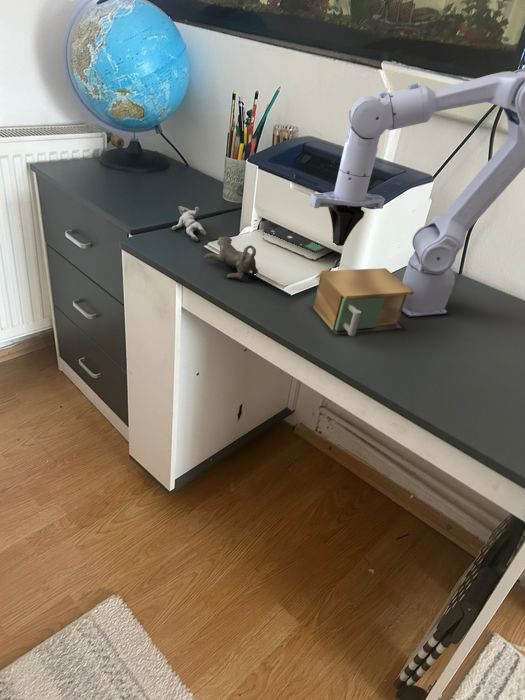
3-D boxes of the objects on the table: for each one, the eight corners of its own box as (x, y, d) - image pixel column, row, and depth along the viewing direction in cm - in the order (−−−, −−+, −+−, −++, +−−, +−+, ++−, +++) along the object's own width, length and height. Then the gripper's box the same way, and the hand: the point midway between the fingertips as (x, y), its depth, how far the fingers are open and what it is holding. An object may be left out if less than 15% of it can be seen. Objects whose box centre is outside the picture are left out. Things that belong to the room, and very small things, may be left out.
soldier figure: (180, 246, 116) (160, 211, 122) (192, 255, 121) (172, 221, 126) (208, 224, 115) (186, 190, 120) (218, 234, 119) (197, 201, 125)
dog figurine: (261, 280, 106) (267, 246, 102) (240, 286, 102) (245, 251, 98) (223, 257, 112) (226, 224, 108) (202, 262, 109) (205, 228, 105)
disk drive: (261, 240, 123) (314, 262, 117) (262, 229, 122) (316, 250, 115) (285, 231, 131) (336, 250, 124) (287, 220, 129) (339, 239, 123)
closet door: (373, 325, 96) (382, 294, 92) (385, 336, 93) (395, 306, 90) (334, 328, 93) (342, 297, 89) (345, 340, 90) (354, 309, 86)
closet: (374, 303, 105) (385, 268, 100) (401, 328, 98) (414, 291, 93) (312, 308, 99) (321, 270, 95) (336, 335, 92) (346, 296, 88)
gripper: (377, 166, 98) (359, 234, 106) (308, 163, 93) (295, 235, 100) (398, 178, 93) (378, 249, 101) (327, 176, 87) (311, 251, 95)
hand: (337, 243), depth 100 cm, fingers closed
